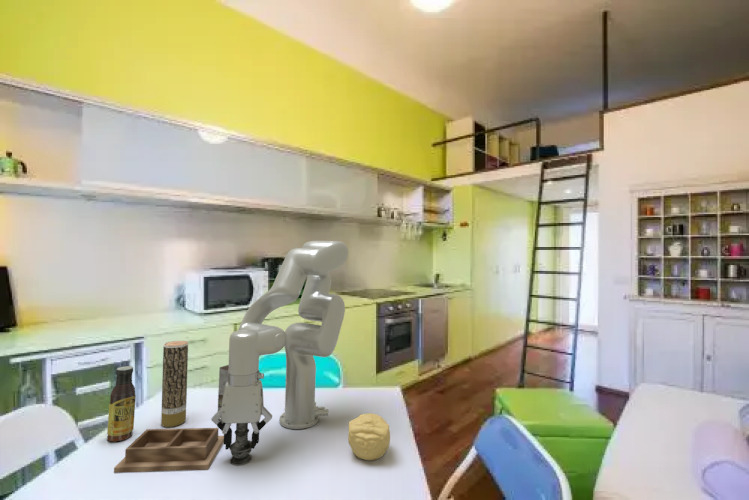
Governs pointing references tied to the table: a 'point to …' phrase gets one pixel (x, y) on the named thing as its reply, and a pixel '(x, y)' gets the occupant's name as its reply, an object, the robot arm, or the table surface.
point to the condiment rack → (171, 450)
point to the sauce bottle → (122, 406)
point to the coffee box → (222, 384)
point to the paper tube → (174, 383)
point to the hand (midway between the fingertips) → (241, 445)
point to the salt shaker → (241, 445)
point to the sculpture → (369, 436)
